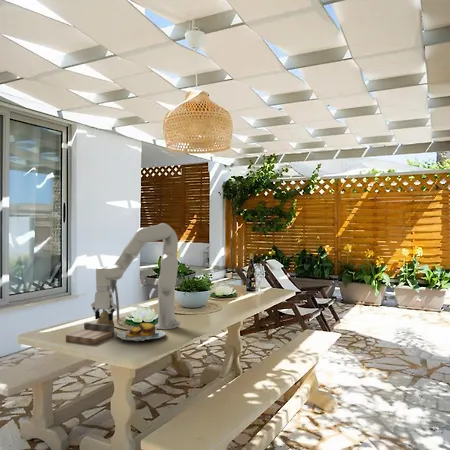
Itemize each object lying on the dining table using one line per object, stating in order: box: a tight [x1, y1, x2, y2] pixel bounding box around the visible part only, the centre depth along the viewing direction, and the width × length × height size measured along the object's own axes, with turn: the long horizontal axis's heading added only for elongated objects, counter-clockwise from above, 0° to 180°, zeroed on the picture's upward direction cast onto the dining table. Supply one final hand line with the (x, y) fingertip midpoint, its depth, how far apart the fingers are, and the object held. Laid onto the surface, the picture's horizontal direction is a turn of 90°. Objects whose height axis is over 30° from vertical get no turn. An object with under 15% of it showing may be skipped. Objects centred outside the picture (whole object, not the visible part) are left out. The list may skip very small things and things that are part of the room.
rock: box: [96, 309, 115, 326], centre depth 241 cm, size 11×9×10 cm
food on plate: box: [115, 322, 167, 342], centre depth 225 cm, size 25×25×7 cm
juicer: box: [102, 280, 120, 325], centre depth 261 cm, size 10×11×30 cm
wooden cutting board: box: [65, 321, 115, 346], centre depth 223 cm, size 18×16×6 cm
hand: (104, 319), depth 241 cm, fingers closed on rock, 8 cm apart
